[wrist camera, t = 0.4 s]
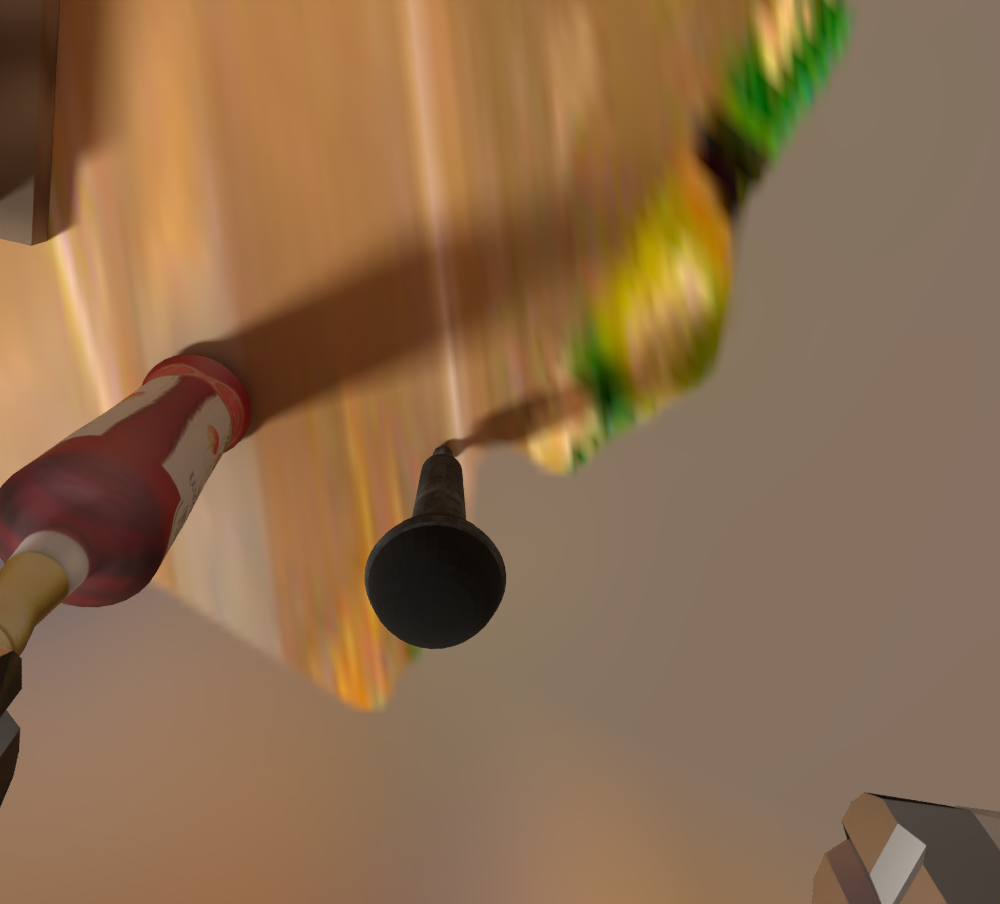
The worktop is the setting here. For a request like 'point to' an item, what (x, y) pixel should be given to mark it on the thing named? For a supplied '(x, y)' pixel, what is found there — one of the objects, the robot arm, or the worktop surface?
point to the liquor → (114, 494)
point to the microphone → (436, 565)
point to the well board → (26, 116)
